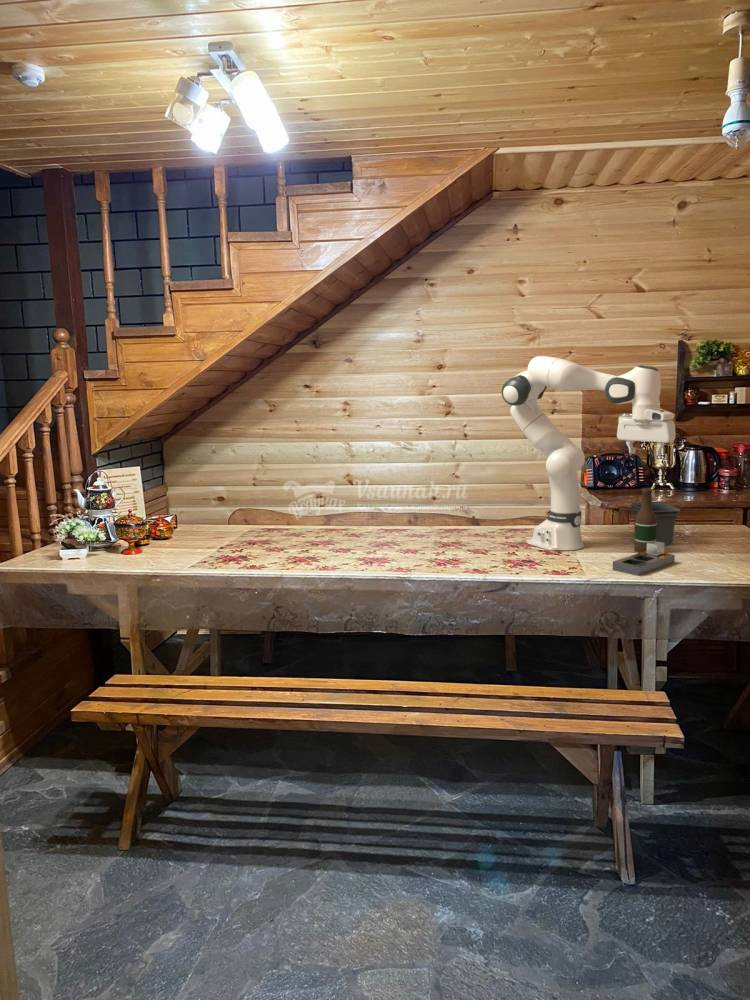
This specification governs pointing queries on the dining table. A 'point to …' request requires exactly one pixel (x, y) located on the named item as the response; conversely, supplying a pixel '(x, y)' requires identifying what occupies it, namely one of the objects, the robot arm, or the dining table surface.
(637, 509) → the storage bin
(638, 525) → the beer bottle
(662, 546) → the block
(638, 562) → the grey tray
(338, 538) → the dining table surface
